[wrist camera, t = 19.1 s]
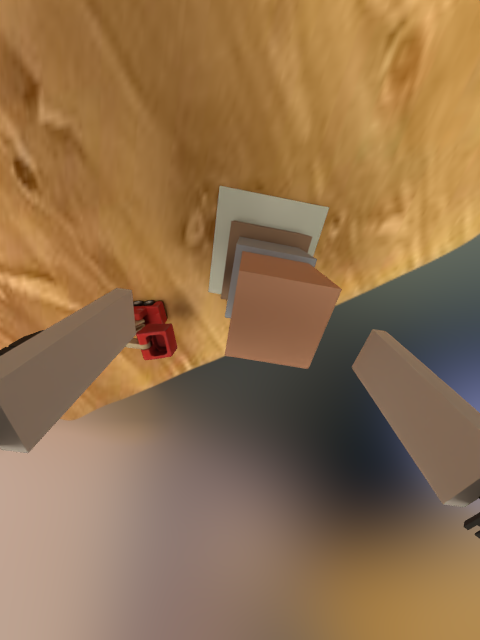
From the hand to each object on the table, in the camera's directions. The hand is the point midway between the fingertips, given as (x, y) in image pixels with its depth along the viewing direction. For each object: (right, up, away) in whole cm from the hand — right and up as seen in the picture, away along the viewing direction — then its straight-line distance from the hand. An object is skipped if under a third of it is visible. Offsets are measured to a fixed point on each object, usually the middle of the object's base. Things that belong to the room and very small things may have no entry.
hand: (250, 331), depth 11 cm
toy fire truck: (-14, +2, +19) cm, 24 cm away
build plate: (+2, +9, +14) cm, 17 cm away
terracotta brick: (+2, +3, +5) cm, 6 cm away
